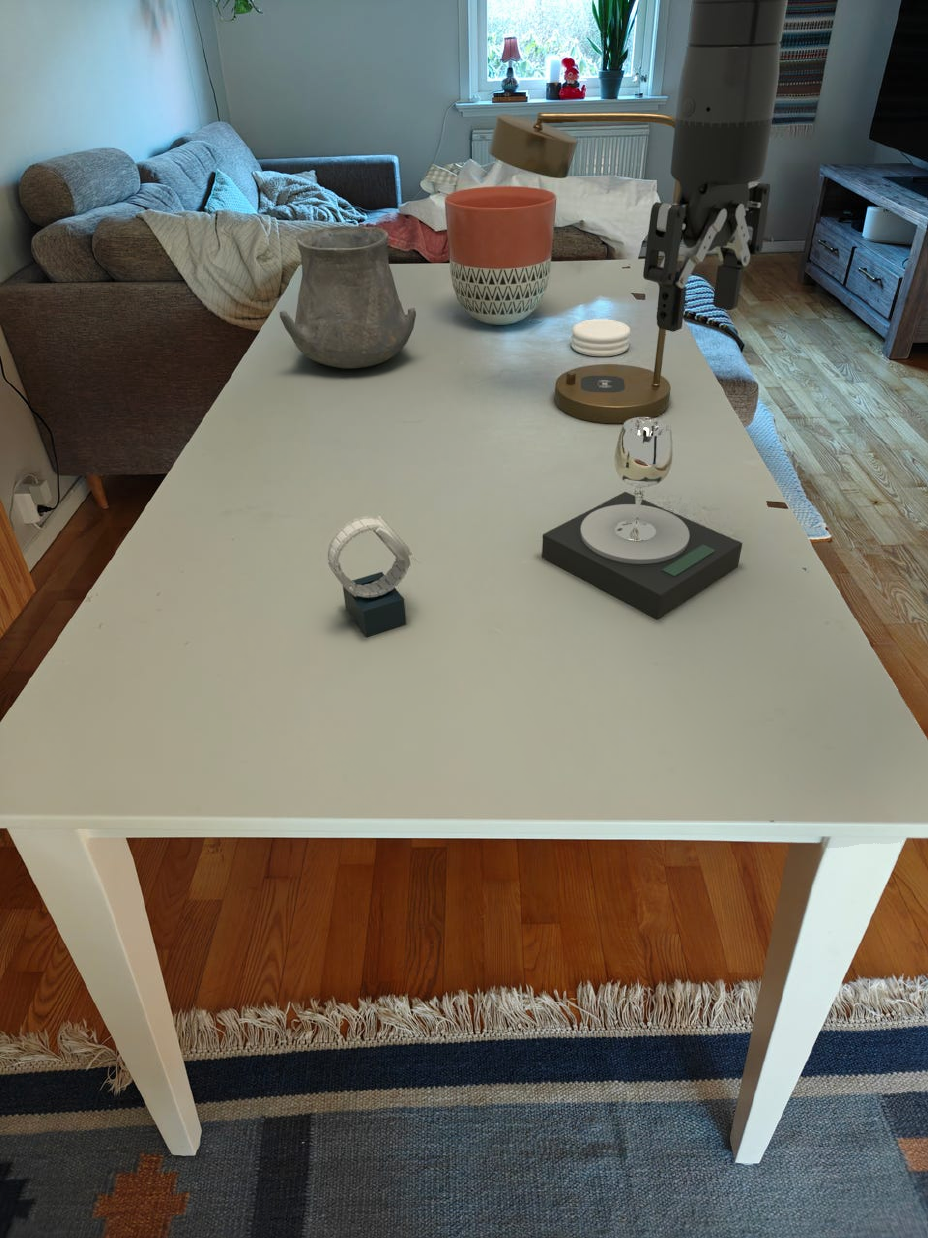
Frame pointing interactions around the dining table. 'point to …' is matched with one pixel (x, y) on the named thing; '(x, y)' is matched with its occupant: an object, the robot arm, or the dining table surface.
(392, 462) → the dining table surface
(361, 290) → the vessel
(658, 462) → the wineglass
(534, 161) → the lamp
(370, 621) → the watch
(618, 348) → the white round stack
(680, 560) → the scale
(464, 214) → the planter
